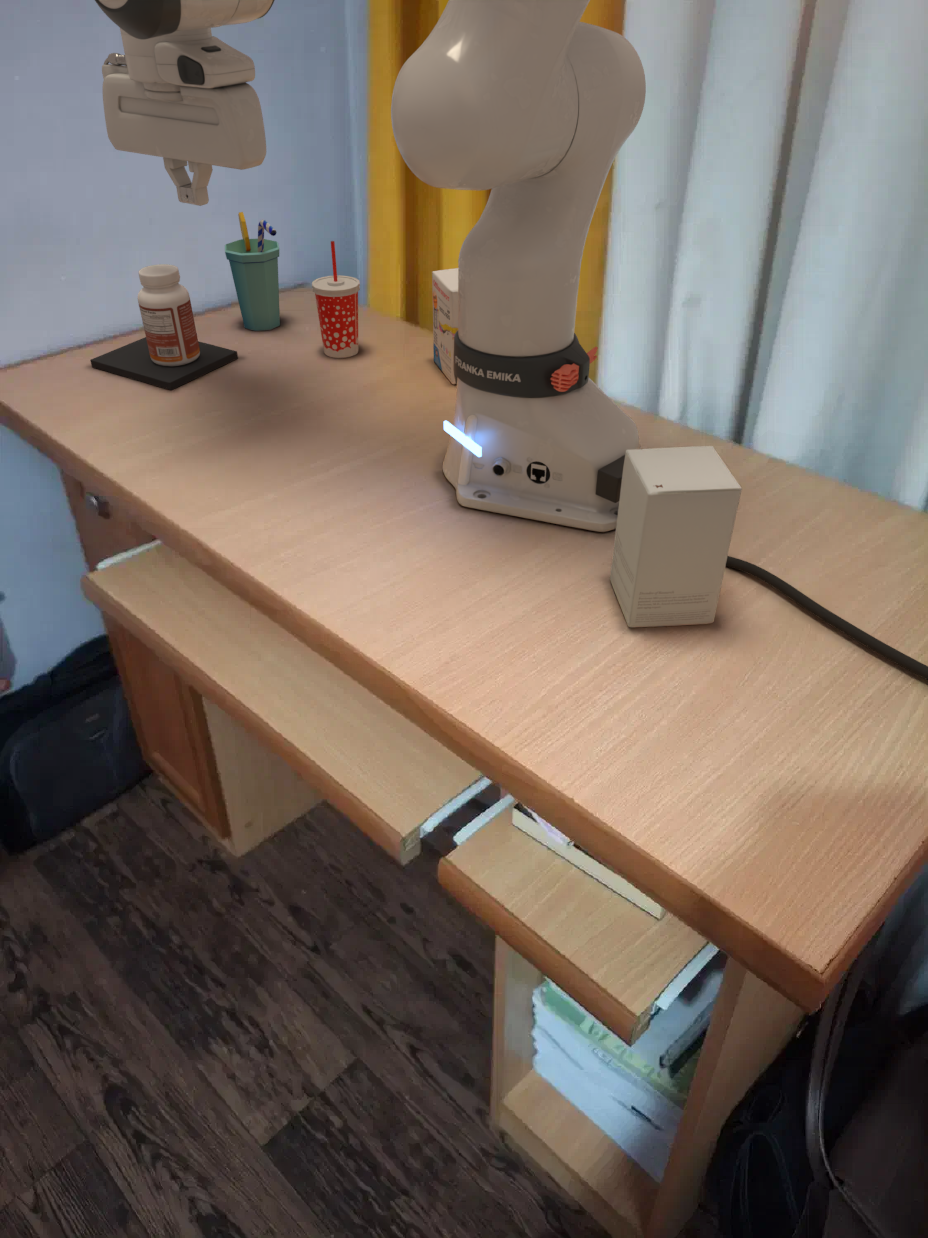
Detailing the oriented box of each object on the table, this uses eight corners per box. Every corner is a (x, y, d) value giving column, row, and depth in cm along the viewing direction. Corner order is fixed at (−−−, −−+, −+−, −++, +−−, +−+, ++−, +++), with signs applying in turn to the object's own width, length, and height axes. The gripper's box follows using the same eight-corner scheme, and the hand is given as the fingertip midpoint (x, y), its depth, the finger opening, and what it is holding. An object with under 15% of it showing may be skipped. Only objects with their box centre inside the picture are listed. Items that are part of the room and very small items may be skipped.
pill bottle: (187, 345, 120) (171, 258, 113) (209, 359, 116) (193, 270, 110) (142, 357, 117) (123, 268, 110) (163, 371, 113) (144, 280, 106)
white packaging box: (715, 625, 74) (745, 488, 67) (626, 629, 74) (645, 492, 66) (690, 574, 80) (715, 443, 73) (607, 577, 80) (623, 446, 72)
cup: (312, 335, 126) (300, 220, 117) (260, 346, 122) (244, 229, 113) (268, 306, 135) (255, 198, 126) (219, 317, 132) (201, 205, 122)
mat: (238, 358, 119) (237, 350, 119) (171, 390, 111) (169, 382, 110) (161, 337, 125) (159, 330, 124) (91, 367, 117) (89, 359, 116)
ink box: (431, 360, 119) (430, 268, 112) (492, 352, 121) (495, 261, 114) (451, 385, 112) (451, 289, 105) (515, 377, 115) (519, 282, 107)
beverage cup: (334, 339, 125) (325, 232, 116) (373, 347, 122) (366, 238, 114) (309, 354, 120) (297, 244, 112) (348, 363, 118) (339, 250, 110)
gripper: (76, 54, 95) (106, 196, 104) (223, 68, 87) (243, 222, 95) (122, 48, 99) (148, 185, 108) (267, 62, 91) (282, 209, 100)
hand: (194, 203), depth 102 cm, fingers closed
